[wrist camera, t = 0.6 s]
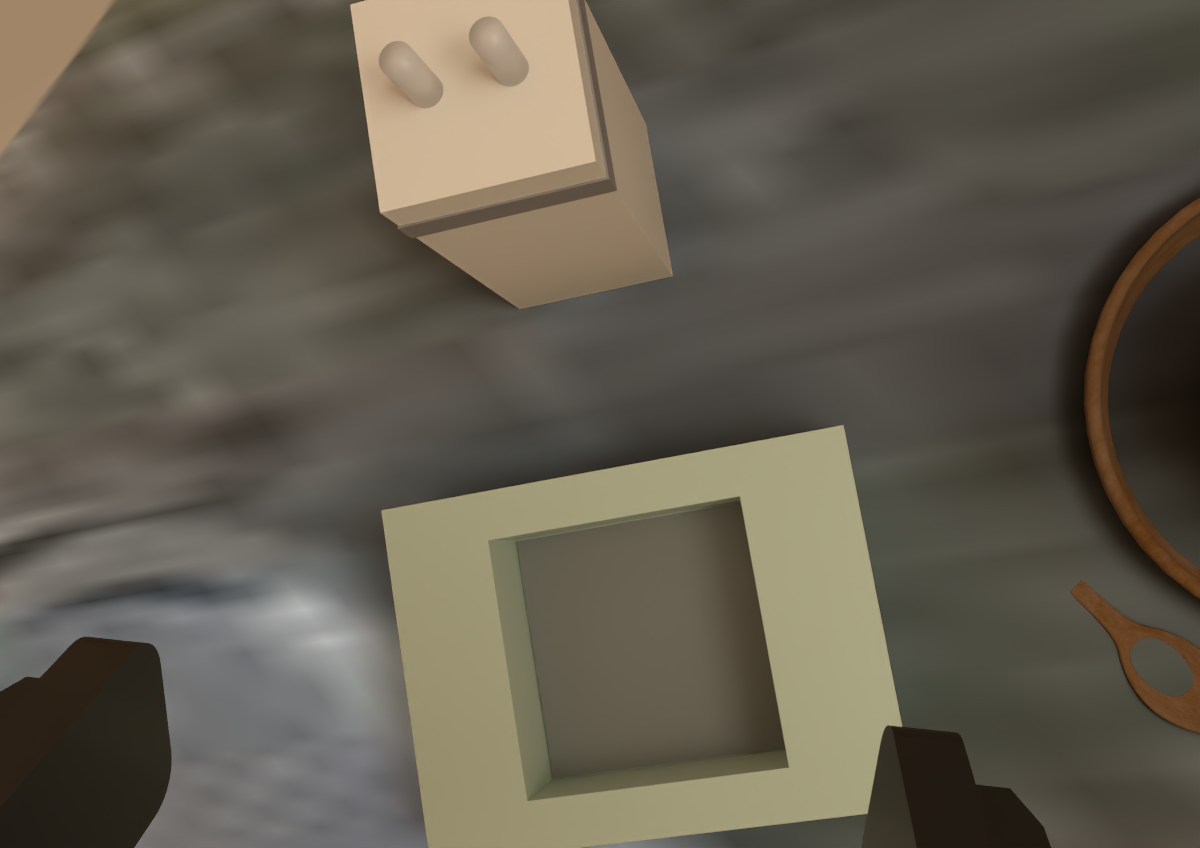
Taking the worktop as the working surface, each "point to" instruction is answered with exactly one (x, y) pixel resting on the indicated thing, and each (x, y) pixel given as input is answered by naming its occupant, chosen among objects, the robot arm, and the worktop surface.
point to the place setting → (1196, 705)
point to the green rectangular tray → (644, 649)
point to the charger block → (510, 144)
